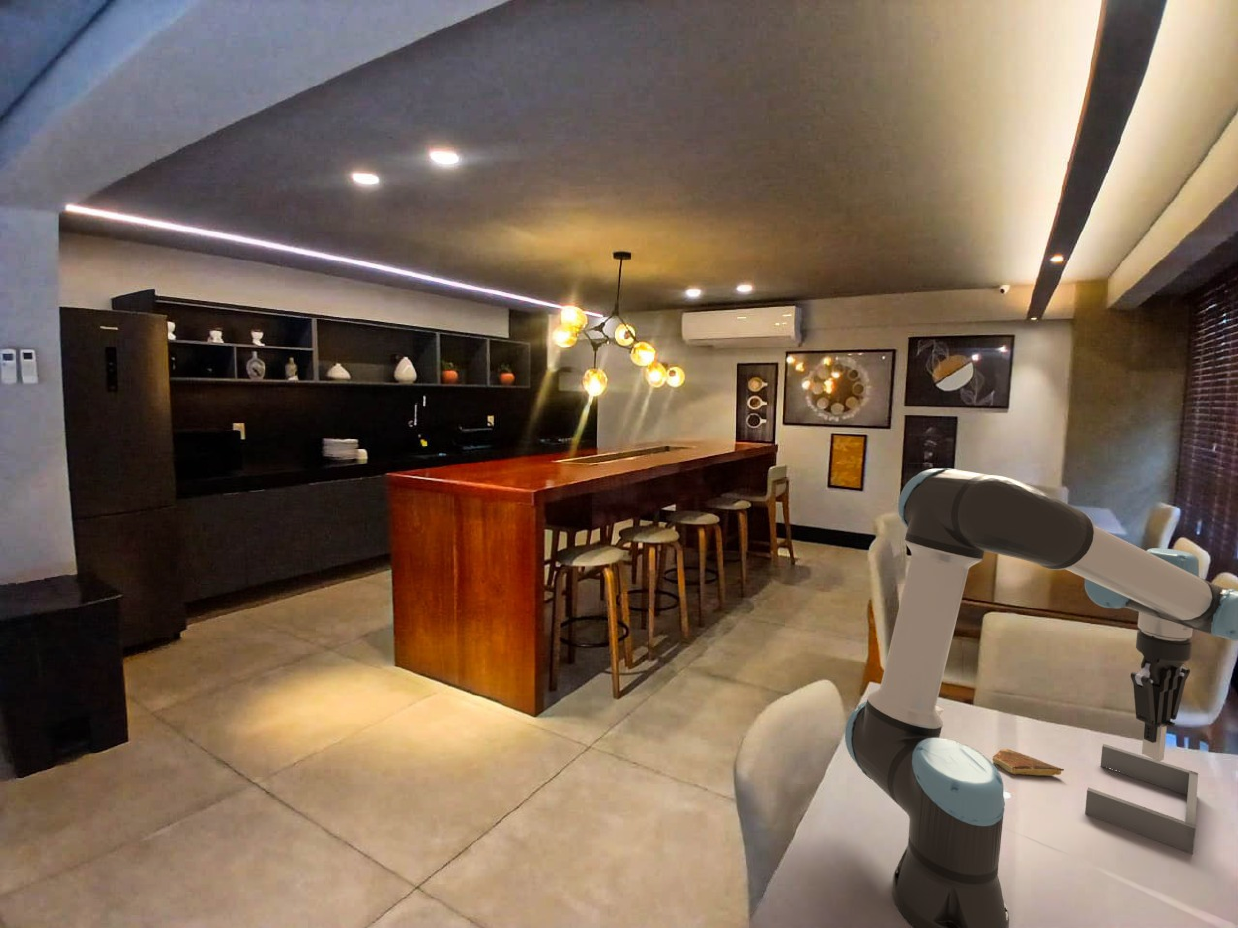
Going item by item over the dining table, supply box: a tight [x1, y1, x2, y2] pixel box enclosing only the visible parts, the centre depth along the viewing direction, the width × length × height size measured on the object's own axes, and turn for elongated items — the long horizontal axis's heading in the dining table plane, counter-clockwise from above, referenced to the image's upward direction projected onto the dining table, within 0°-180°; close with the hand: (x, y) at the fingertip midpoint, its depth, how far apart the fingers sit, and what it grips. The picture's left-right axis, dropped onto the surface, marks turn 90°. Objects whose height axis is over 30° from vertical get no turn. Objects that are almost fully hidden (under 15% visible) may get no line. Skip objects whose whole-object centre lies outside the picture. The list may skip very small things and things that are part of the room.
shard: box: [992, 748, 1065, 777], centre depth 125 cm, size 11×8×2 cm
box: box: [1084, 743, 1199, 854], centre depth 116 cm, size 14×22×4 cm, turn 136°
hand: (1152, 756), depth 115 cm, fingers closed
